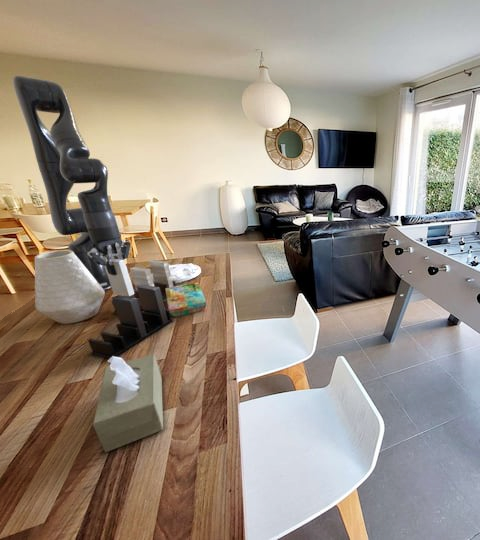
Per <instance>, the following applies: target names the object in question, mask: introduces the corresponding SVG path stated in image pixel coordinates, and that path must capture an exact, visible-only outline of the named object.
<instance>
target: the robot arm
mask: <svg viewBox="0 0 480 540" xmlns="http://www.w3.org/2000/svg"><path fill="white" fill-rule="evenodd" d="M12 84H13V89H14V93H15V95H16V98H17V101H18V104H19V107H20V109H21V112H22V115H23V118H24V120H25V123H26V126H27V129H28V132H29V135H30V140H31V145H32V147H33V151H34V155H35V159H36V163H37V166H38V170H39V173H40V176H41V179H42V182H43V185H44V188H45V191H46V196H47V202H48V206H49V213H50V217H51V222H52V224H53V227H54V228H55V231H56V232H57V233H58V234H60V235H61V236H72V235H77V234H80V235H79V236H78V237H77V238H76V239H74V240H73V241H70V243H68V245H67V247H68V250H71V251H73V252H74V254H75V255H76V256H77V257H78V258H79V260H80V261H81V262H82V263H83V265H84V266H85V267H86V268H87V270H88V271H89V272H90V273H91V274H92V276H93V277H94V278H95V279H96V281H97V282H98V283H99V284H100V285H101V287H102V288H103V289H104V291H106V290H109V289H112V287H111V284H110V281H109V278H108V275H107V272H106V269H105V266H106V268H107V271H108V273H109V274H110V275H117V273H116V269H115V266H114V265H113V261H112V258H113V259H120V260H126V259H128V258H129V255H130V251H131V249H130V248H131V245H132V243H131V242H130V241H125V240H123V239H122V238H121V231H120V229H119V226H118V222H117V220H116V215H115V214H114V212H113V209H112V206H111V203H110V199H109V195H108V182H109V181H108V179H109V170H108V167H107V166H106V164H105V163H104V162H103V161H102V160H100V159H98V158H91V157H90V155H91V153H90V149H89V147H88V146H87V144H86V141H85V140H84V138H83V137H82V135H81V133H80V130H79V127H78V124H77V122H76V118H75V115H74V112H73V110H72V107H71V103H70V101H69V98H68V95H67V94H66V92H65V90H64V89H63V87H62V86H61V85H60V84H59V83H58V82H55V81H51V80H45V79H40V78H35V77H29V76H23V75H15V76H14V77H13V79H12ZM38 112H41V113H42V112H43V113H51V114H59V115H58V117H57V118H56V120H55V121H54V122H53V124H52V125H51V127H50V130H49V129H48V127H46V125H45V124H44V123H43V121H42V120H41V118H40V116H39V113H38ZM93 183H94V184H95V185H94V186H93V187H92V188H91V189H88V190H84V191H81V192H78V193H77V199H78V203H79V205H80V207H77V208H76V207H75V208H69V209H67V199H68V196H69V194H70V191H71V190H72V188H73V186H74V185H75V184H93Z"/></svg>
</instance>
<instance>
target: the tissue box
mask: <svg viewBox="0 0 480 540" xmlns="http://www.w3.org/2000/svg"><path fill="white" fill-rule="evenodd" d="M107 362H108V363H110V364H109V365H108V366H106V367H105V368H104V372H103V377H102V381H101V385H100V390H99V395H98V398H97V399H98V400H97V403H96V408H95V414H94V417H93V423H92V427H93V429H94V430H95V433H96V435H97V437H98V440H99V442H100V444H101V446H102V448H103V450H104V452H105V453H108V452H110V451H113V450H115V449H118V448H121V447H123V446H125V445H128V444H131V443H134V442H135V441H138V440H141V439H143V438H145V437H148V436H151V435H153V434H156V433H158V432H159V433H160V432H161V431H163V430H164V416H163V415H164V411H163V409H164V407H163V386H162V385H163V378H162V377H163V376H162V374H161V371H160V368H159V367H160V366H159V363H158V361H157V357H156V354H154V353H151V354H147V355H145V356H141V357H137V358H134V359H130V360H127V361H125V360H124V358H123V357H119V356H117V357H115V356H112V357H111V358H110V359H107Z"/></svg>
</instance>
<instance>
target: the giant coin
mask: <svg viewBox="0 0 480 540" xmlns="http://www.w3.org/2000/svg"><path fill="white" fill-rule="evenodd" d="M168 265H169V269H170V273H171V278H172V281H175V282H176V285H177V284H182V282H186V281H189V280H192V279H194V278H196V277H198V276H199V275H200V274H201V272H202V270H201V269H202V268H201V267H200V266H199V265H197V264H194V263H192V262H191V263H190V262H189V263H179V264H168ZM151 276H152V279H153V282H154V278H153V274H152V273H151Z"/></svg>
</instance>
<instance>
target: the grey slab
mask: <svg viewBox="0 0 480 540" xmlns="http://www.w3.org/2000/svg"><path fill="white" fill-rule="evenodd" d="M148 263H149V266H150V268H146V267H140V266H133V267H130V268H129V270H130V275H131V278H132V281H133V285H134V289H133V290H134V293H135V294H133V296H134V297H132V296H131V297H132V298H137V302H138V305H139V308H140V312H141V311H144V310H143V307H142V303H141V300H140V296H139V293H138V289H137V287H138V286H140V285H142V284H143V285H149V286H155V287H159V288H160V291H161V295H162V299H163V300H165V299H167V297H166V290H165V288H170V287H175V286H177V284H176V282H175V281H172V278H171V273H170V269H169V265H170V264H169V262H168V261H167V260H166V261H165V260H159V259H151V260H149V261H148ZM151 274H153V278H154V281H153V279H152V276H151ZM126 297H129V296H126ZM111 303H112V304H111V305H112V306H113V309H114V310H113V313H114V314H116V315H117V312H116V309H115V306H114V303H113V300H111Z"/></svg>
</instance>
